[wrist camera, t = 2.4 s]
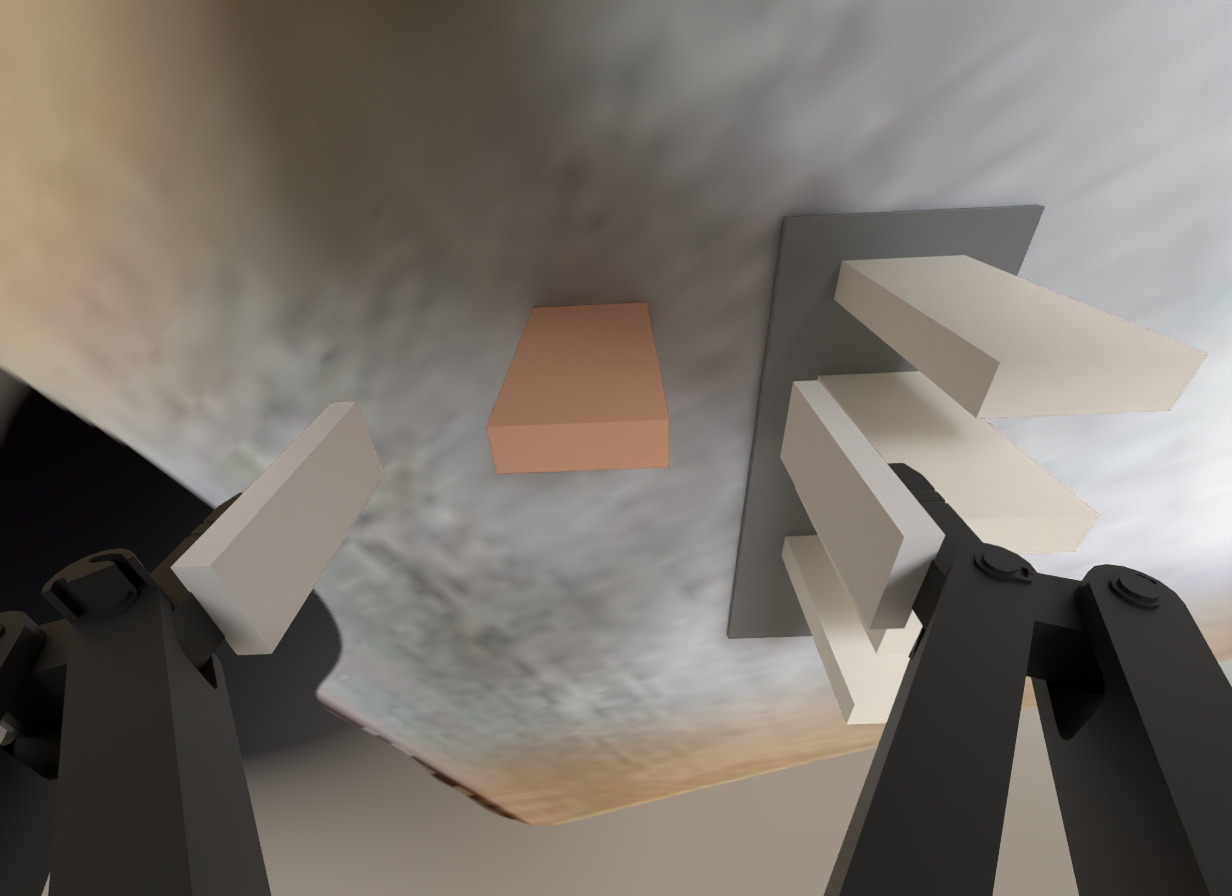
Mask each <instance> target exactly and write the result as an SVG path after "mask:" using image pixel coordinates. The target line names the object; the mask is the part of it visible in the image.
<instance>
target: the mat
mask: <svg viewBox="0 0 1232 896" xmlns="http://www.w3.org/2000/svg"><path fill="white" fill-rule="evenodd" d="M1044 207H1045V206H1040V205H1025V206H1004V207H983V208H962V209H941V210H920V211H899V212H878V213H856V214H835V215H814V216H793V217H784V222H783V229H782V236H781V244H780V251H779V258H778V266H777V273H776V280H775V288H774V295H773V302H772V310H771V317H770V325H769V332H768V339H767V347H766V354H765V361H764V369H763V376H762V383H761V391H760V398H759V405H758V413H757V420H756V428H755V435H754V442H753V450H752V457H751V464H750V472H749V479H748V486H747V494H746V501H745V508H744V516H743V523H742V530H741V538H740V545H739V553H738V560H737V567H736V575H735V582H734V589H733V597H732V604H731V611H730V619H729V626H728V633H727V634H728V638H729V639H735V638H764V637H793V636H812V634H811V631H810V629H809V626H808V623H807V621H806V618H805V616H804V613H803V610H802V608H801V605H800V603H799V600H798V597H797V595H796V592H795V590H794V587H793V585H792V582H791V579H790V577H789V574H788V572H787V569H786V566H785V564H784V561H783V559H782V556H781V555H782V550H783V545H784V540H785V536H809V535H818V534H817V532H816V530H815V528H814V526H813V524H812V522H811V520H810V518H809V516H808V514H807V512H806V510H805V508H804V506H803V504H802V502H801V500H800V498H799V495H798V493H797V491H796V489H795V485H794V483H793V481H792V479H791V477H790V475H789V473H788V471H787V469H786V468H785V466H784V464H783V462H782V460H781V458H780V456H781V450H782V444H783V438H784V432H785V426H786V421H787V415H788V409H789V403H790V397H791V391H792V385H793V381H814V380H817V379H818V376H821V375H844V374H868V373H891V372H915V371H919V370H918V369H916V368H915V367H914V366H913V365H912V364H910V363H909V362H908V361H907V360H906V359H904V358H903V357H902V356H901V355H900V354H898V353H897V352H896V351H895V350H894V349H893V348H891V347H890V346H889V345H888V344H887V343H885V342H884V341H883V340H882V339H881V338H879V337H878V336H877V335H876V334H875V333H873V332H872V331H871V330H870V329H869V328H867V327H866V326H865V325H864V324H863V323H861V322H860V321H859V320H858V319H857V318H856V317H854V316H853V315H852V314H851V313H850V312H848V311H847V310H846V309H845V308H844V307H842V306H841V305H840V304H839V303H838V302H836V301H835V300H834V297H835V292H836V287H837V282H838V277H839V272H840V267H841V263H842V261H847V260H868V259H890V258H912V257H933V256H955V255H966V256H968V257H971V258H973V259H976V260H978V261H981V262H983V263H986V264H988V265H990V266H993V267H995V268H998V269H1000V270H1003V271H1005V272H1008V273H1010V274H1013V275H1015V276H1017V274H1018V272H1019V269H1020V267H1021V264H1022V262H1023V259H1024V257H1025V254H1026V252H1027V249H1028V247H1029V245H1030V242H1031V240H1032V237H1033V235H1034V232H1035V230H1036V227H1037V225H1038V222H1039V220H1040V217H1041V215H1042V212H1043V210H1044Z"/></svg>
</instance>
